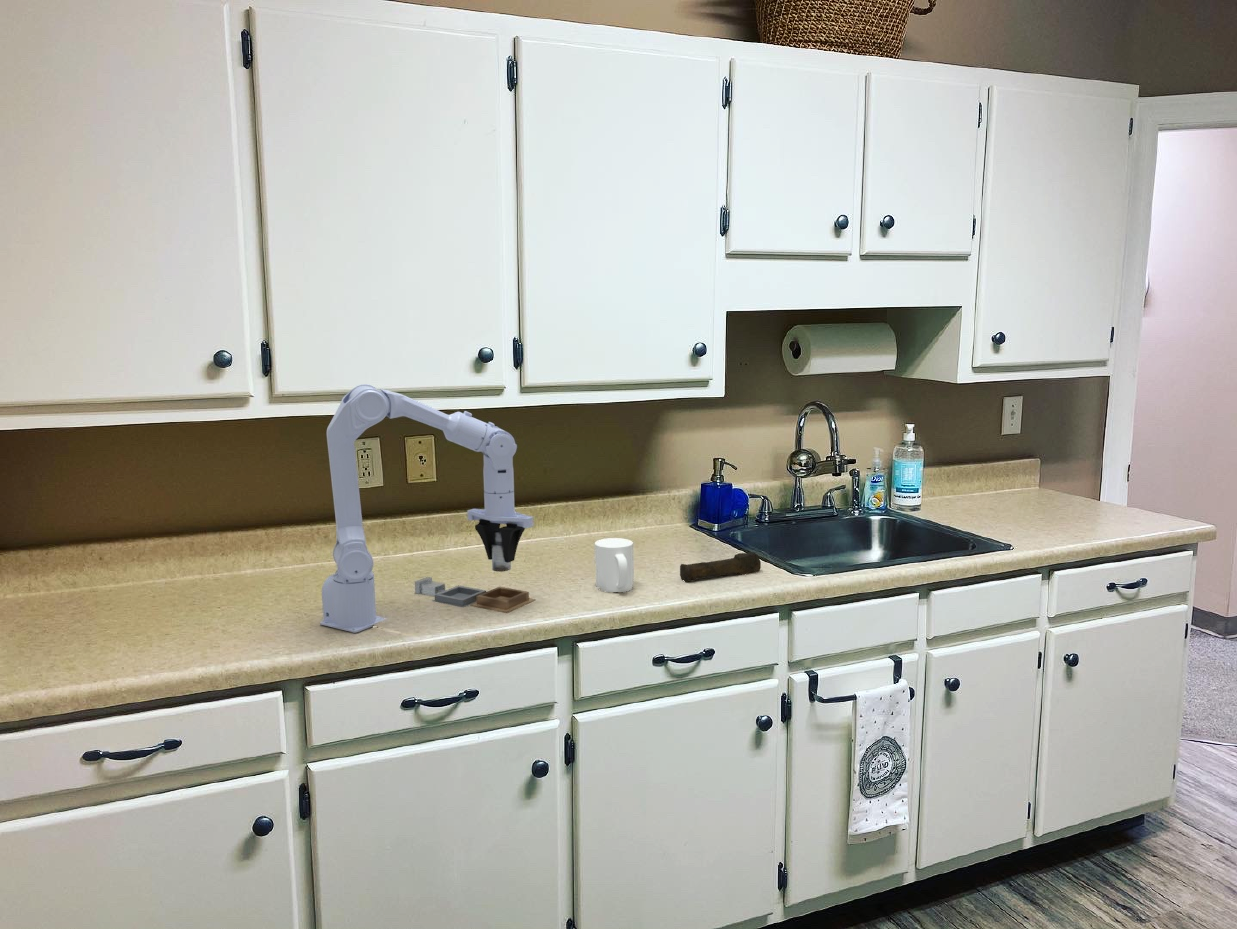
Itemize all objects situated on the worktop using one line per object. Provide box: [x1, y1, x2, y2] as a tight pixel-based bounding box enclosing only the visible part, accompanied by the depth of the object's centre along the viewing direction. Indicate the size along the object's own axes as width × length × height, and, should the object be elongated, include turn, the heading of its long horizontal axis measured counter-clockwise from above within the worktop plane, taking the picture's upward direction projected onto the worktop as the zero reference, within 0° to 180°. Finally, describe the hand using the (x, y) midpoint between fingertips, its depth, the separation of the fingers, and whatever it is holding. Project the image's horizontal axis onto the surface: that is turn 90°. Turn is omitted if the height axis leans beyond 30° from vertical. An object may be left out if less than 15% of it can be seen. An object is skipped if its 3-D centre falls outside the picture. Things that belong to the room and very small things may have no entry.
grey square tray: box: [432, 584, 487, 608], centre depth 190 cm, size 8×8×2 cm
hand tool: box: [679, 551, 762, 583], centre depth 205 cm, size 19×4×5 cm, turn 111°
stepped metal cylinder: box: [491, 530, 512, 573], centre depth 185 cm, size 4×4×8 cm
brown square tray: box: [469, 586, 536, 614], centre depth 187 cm, size 9×9×2 cm
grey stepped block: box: [414, 576, 446, 598], centre depth 193 cm, size 5×4×3 cm
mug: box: [594, 537, 635, 593], centre depth 197 cm, size 12×9×8 cm
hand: (501, 559), depth 185 cm, fingers closed on stepped metal cylinder, 4 cm apart
